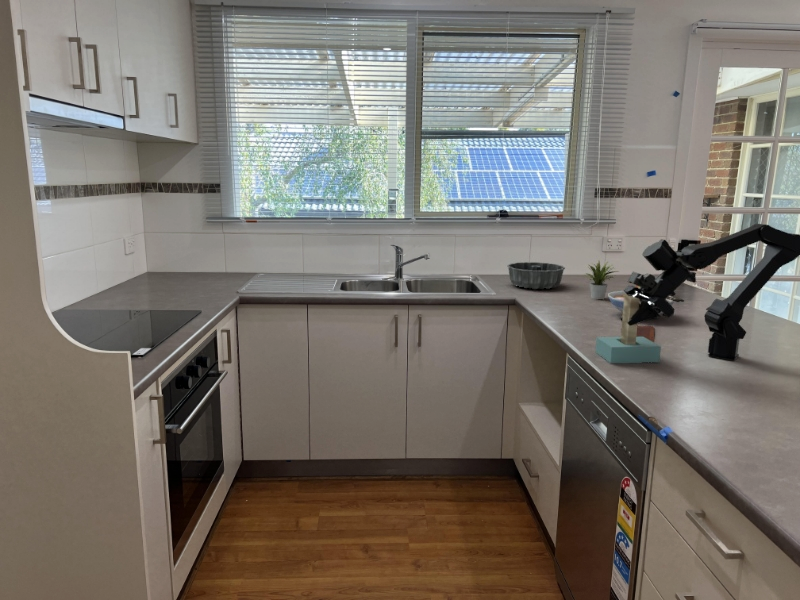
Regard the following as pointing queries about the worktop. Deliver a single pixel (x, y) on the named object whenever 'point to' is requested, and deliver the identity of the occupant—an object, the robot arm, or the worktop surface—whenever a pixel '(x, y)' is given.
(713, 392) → the worktop surface
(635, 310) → the slat
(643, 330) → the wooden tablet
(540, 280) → the bundt pan
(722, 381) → the worktop surface
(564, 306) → the worktop surface
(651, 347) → the end cap
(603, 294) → the house plant
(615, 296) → the ramen bowl
